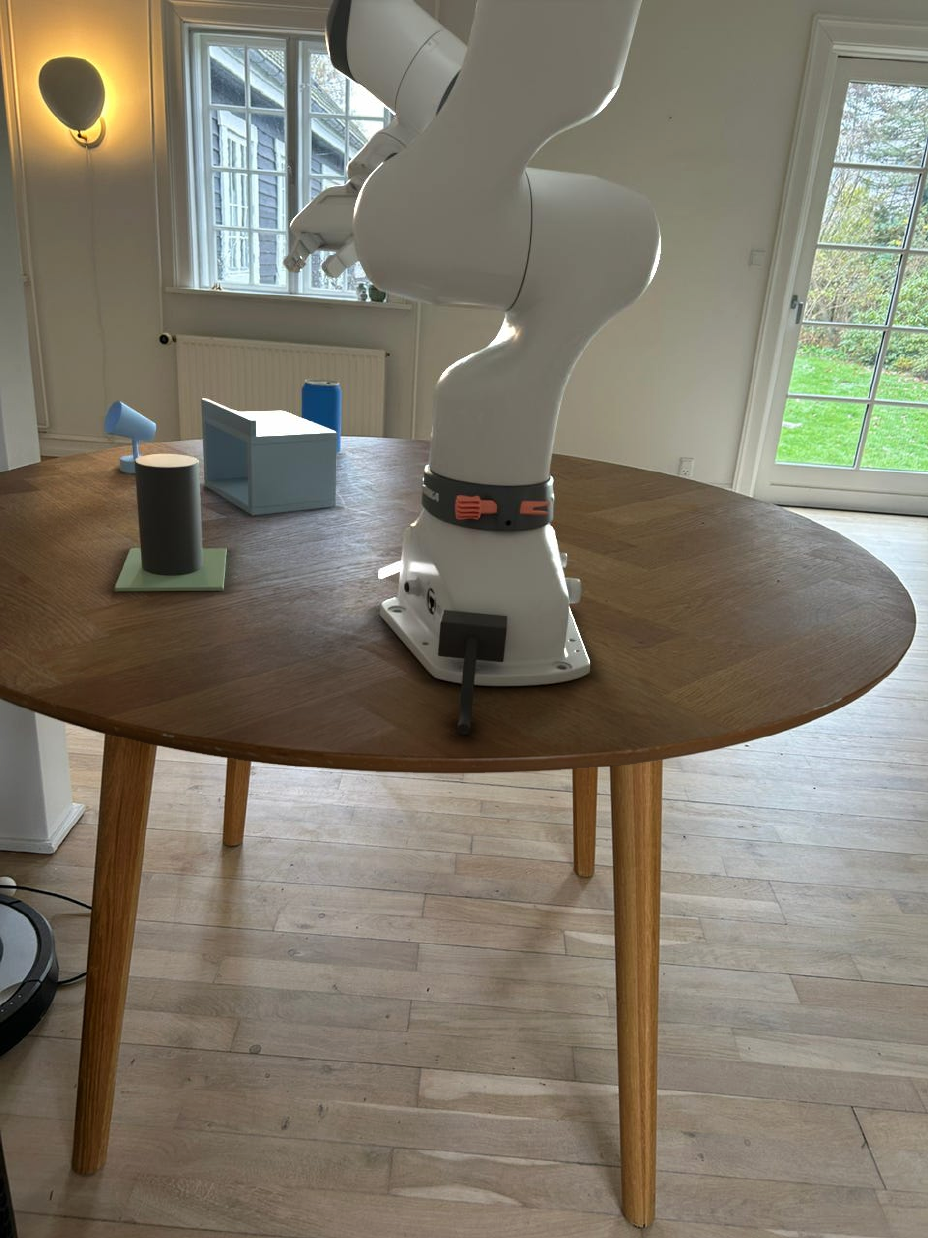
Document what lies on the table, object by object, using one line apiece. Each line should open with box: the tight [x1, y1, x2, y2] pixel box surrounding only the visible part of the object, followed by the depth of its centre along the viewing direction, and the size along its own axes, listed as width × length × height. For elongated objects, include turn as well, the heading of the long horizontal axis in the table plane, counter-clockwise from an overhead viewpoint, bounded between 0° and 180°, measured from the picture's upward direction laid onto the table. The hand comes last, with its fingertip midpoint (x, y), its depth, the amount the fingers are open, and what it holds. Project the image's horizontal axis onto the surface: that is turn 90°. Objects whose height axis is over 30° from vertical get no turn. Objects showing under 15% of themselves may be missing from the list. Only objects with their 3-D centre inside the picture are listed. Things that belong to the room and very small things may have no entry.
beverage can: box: [300, 378, 343, 454], centre depth 141 cm, size 6×6×12 cm
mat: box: [114, 547, 227, 592], centre depth 88 cm, size 12×10×1 cm
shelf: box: [200, 397, 338, 517], centre depth 115 cm, size 16×12×12 cm
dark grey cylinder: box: [134, 453, 204, 576], centre depth 86 cm, size 6×6×11 cm
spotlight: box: [103, 400, 157, 474], centre depth 122 cm, size 5×10×7 cm
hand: (307, 270), depth 97 cm, fingers open, 8 cm apart
